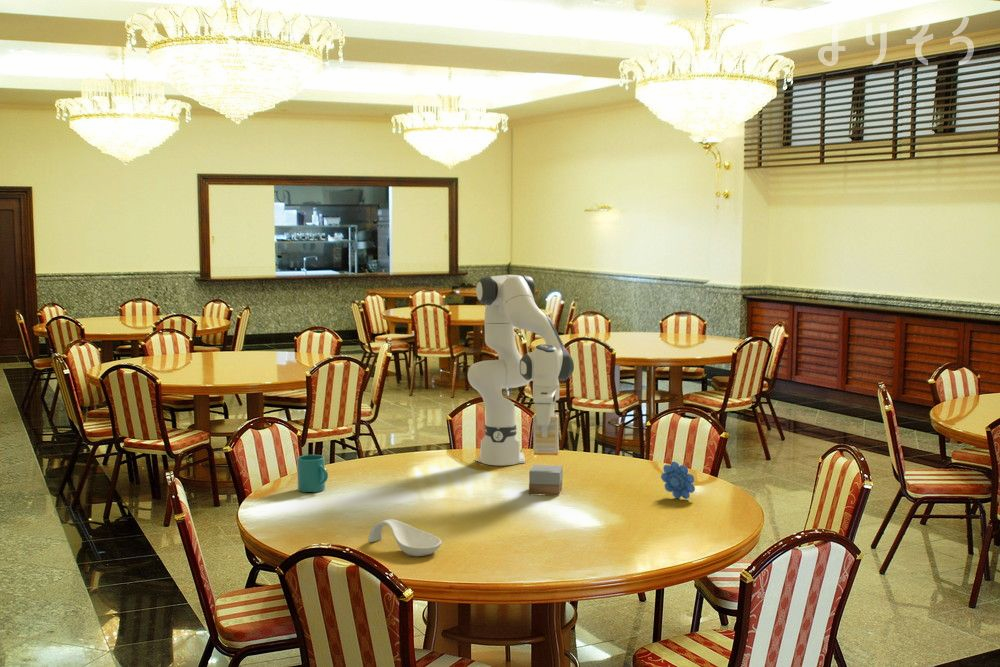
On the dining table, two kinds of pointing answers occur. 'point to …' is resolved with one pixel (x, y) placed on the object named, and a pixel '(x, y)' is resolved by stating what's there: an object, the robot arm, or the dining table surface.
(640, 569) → the dining table surface
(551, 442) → the supplement box
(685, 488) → the blue flower-shaped disc
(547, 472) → the tower top
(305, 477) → the cup
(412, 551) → the spoon rest
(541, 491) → the tower bottom
